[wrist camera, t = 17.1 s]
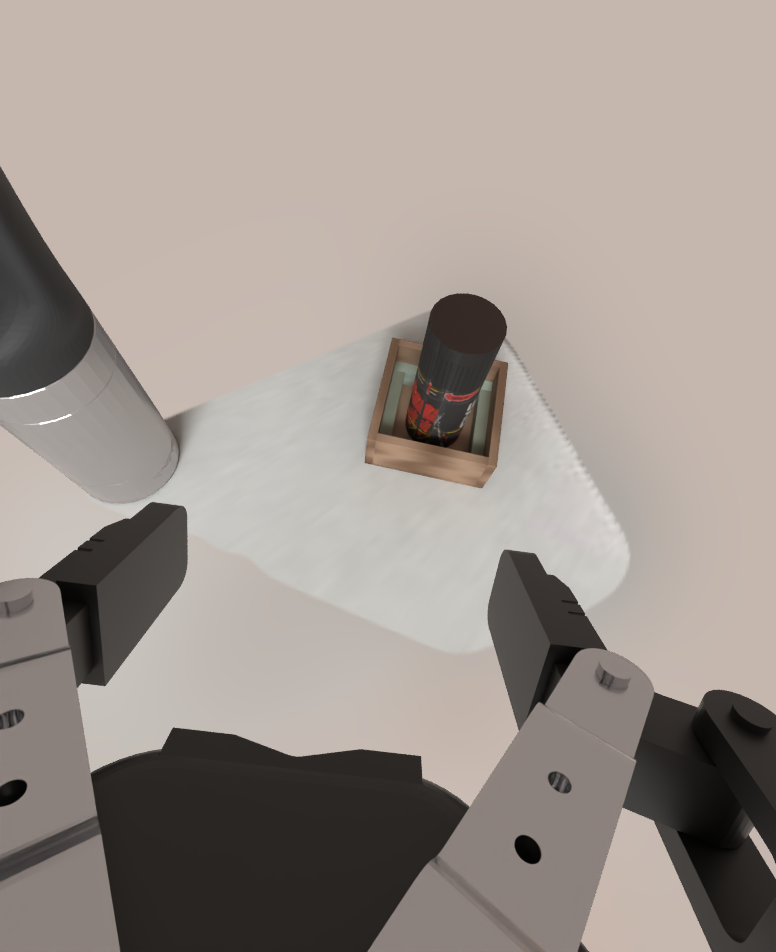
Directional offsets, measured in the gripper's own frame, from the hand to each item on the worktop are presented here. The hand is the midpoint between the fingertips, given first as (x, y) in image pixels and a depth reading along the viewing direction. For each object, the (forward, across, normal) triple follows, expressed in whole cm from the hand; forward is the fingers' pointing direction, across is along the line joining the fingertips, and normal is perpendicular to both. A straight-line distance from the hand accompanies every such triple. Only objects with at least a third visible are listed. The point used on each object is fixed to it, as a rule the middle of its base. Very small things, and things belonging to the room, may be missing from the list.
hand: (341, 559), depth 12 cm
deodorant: (+38, -6, +5) cm, 39 cm away
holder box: (+38, -6, +5) cm, 39 cm away
